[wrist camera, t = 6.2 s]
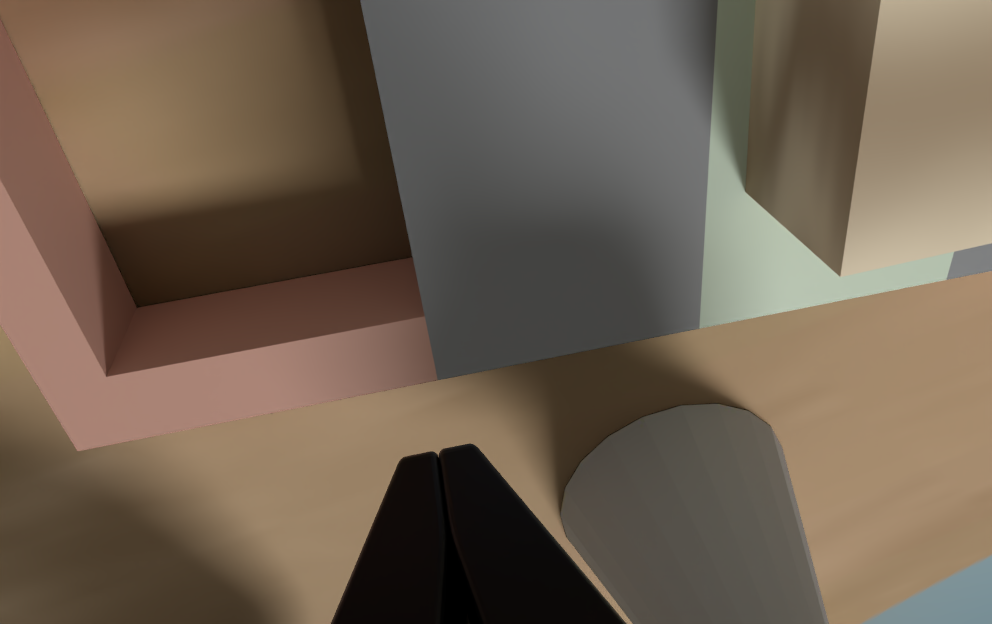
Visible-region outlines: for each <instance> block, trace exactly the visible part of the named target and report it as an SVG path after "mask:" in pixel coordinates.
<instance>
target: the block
mask: <svg viewBox="0 0 992 624" xmlns="http://www.w3.org/2000/svg"><path fill="white" fill-rule="evenodd" d="M745 192H746V193H747V194H748V195H749V196H750V197H751V198H752V199H754V200H755V201H756V202H757V203H758V204H759V205H760V206H761V207H762V208H764V209H765V210H766V211H767V212H768V213H769V214H770V215H771V216H773V217H774V218H775V219H776V220H777V221H778V222H779V223H780V224H781V225H783V226H784V227H785V228H786V229H787V230H788V231H789V232H790V233H792V234H793V235H794V236H795V237H796V238H797V239H798V240H799V241H801V242H802V243H803V244H804V245H805V246H806V247H807V248H808V249H809V250H811V251H812V252H813V253H814V254H815V255H816V256H817V257H818V258H820V259H821V260H822V261H823V262H824V263H825V264H826V265H827V266H828V267H830V268H831V269H832V270H833V271H834V272H835V273H836V274H837V275H839V276H840V277H843V276H848V275H852V274H857V273H861V272H866V271H870V270H875V269H879V268H884V267H888V266H892V265H897V264H901V263H906V262H910V261H915V260H919V259H924V258H928V257H933V256H937V255H942V254H946V253H950V252H955V251H959V250H964V249H968V248H973V247H977V246H982V245H986V244H991V243H992V0H756V2H755V20H754V39H753V57H752V76H751V94H750V113H749V131H748V150H747V169H746V187H745Z"/></svg>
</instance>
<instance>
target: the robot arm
mask: <svg viewBox="0 0 992 624" xmlns="http://www.w3.org/2000/svg"><path fill="white" fill-rule="evenodd" d="M331 624H626V623H625V621H624V620H623V619H622V618H621V617H620V616H619V614H618V613H617V612H616V611H615V610H614V608H613V607H612V606H611V605H610V604H609V603H608V601H607V600H606V599H605V598H604V597H603V595H602V594H601V593H600V592H599V591H598V589H597V588H596V587H595V586H594V585H593V584H592V582H591V581H590V580H589V579H588V578H587V576H586V575H585V574H584V573H583V572H582V571H581V569H580V568H579V567H578V566H577V565H576V563H575V562H574V561H573V560H572V559H571V557H570V556H569V555H568V554H567V553H566V552H565V550H564V549H563V548H562V547H561V546H560V544H559V543H558V542H557V541H556V540H555V538H554V537H553V536H552V535H551V534H550V533H549V531H548V530H547V529H546V528H545V527H544V525H543V524H542V523H541V522H540V521H539V520H538V518H537V517H536V516H535V515H534V514H533V512H532V511H531V510H530V509H529V508H528V506H527V505H526V504H525V503H524V502H523V501H522V499H521V498H520V497H519V496H518V495H517V493H516V492H515V491H514V490H513V489H512V488H511V486H510V485H509V484H508V483H507V482H506V480H505V479H504V478H503V477H502V476H501V474H500V473H499V472H498V471H497V470H496V469H495V467H494V466H493V465H492V464H491V463H490V461H489V460H488V459H487V458H486V457H485V455H484V454H483V453H482V452H481V451H480V450H479V448H478V447H476V446H475V445H473V444H465V445H460V446H455V447H450V448H445V449H442V450H441V451H440V453H439V457H438V455H437V454H436V453H435V452H426V453H421V454H416V455H411V456H406V457H403V458H402V459H401V460H400V461H399V463H398V465H397V467H396V470H395V472H394V475H393V477H392V479H391V482H390V484H389V486H388V489H387V491H386V494H385V496H384V498H383V501H382V503H381V505H380V508H379V510H378V513H377V515H376V517H375V520H374V522H373V524H372V527H371V529H370V532H369V534H368V536H367V539H366V541H365V544H364V546H363V548H362V551H361V553H360V555H359V558H358V560H357V563H356V565H355V567H354V570H353V572H352V574H351V577H350V579H349V582H348V584H347V586H346V589H345V591H344V594H343V596H342V598H341V601H340V603H339V605H338V608H337V610H336V613H335V615H334V617H333V620H332V622H331Z"/></svg>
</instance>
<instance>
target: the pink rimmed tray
mask: <svg viewBox="0 0 992 624" xmlns="http://www.w3.org/2000/svg"><path fill="white" fill-rule="evenodd" d="M360 2H361V7H362V12H363V16H364V21H365V26H366V31H367V36H368V41H369V46H370V51H371V56H372V61H373V65H374V70H375V75H376V80H377V85H378V90H379V95H380V100H381V105H382V110H383V114H384V119H385V124H386V129H387V134H388V139H389V144H390V149H391V154H392V159H393V163H394V168H395V173H396V178H397V183H398V188H399V193H400V198H401V203H402V208H403V212H404V217H405V222H406V227H407V232H408V237H409V242H410V247H411V252H412V257H411V258H406V259H400V260H395V261H389V262H384V263H379V264H373V265H368V266H362V267H357V268H351V269H346V270H340V271H335V272H329V273H324V274H319V275H313V276H308V277H302V278H297V279H291V280H286V281H280V282H275V283H269V284H264V285H259V286H253V287H248V288H242V289H237V290H231V291H226V292H220V293H215V294H210V295H204V296H199V297H193V298H188V299H182V300H177V301H171V302H166V303H160V304H155V305H150V306H144V307H139V308H137V307H136V305H135V303H134V301H133V298H132V296H131V294H130V292H129V290H128V288H127V286H126V284H125V281H124V279H123V277H122V275H121V273H120V271H119V269H118V267H117V265H116V262H115V260H114V258H113V256H112V254H111V252H110V250H109V248H108V245H107V243H106V241H105V239H104V237H103V235H102V233H101V231H100V229H99V226H98V224H97V222H96V220H95V218H94V216H93V214H92V212H91V210H90V207H89V205H88V203H87V201H86V199H85V197H84V195H83V193H82V190H81V188H80V186H79V184H78V182H77V180H76V178H75V176H74V174H73V171H72V169H71V167H70V165H69V163H68V161H67V159H66V157H65V155H64V152H63V150H62V148H61V146H60V144H59V142H58V140H57V138H56V135H55V133H54V131H53V129H52V127H51V125H50V123H49V121H48V119H47V116H46V114H45V112H44V110H43V108H42V106H41V104H40V102H39V99H38V97H37V95H36V93H35V91H34V89H33V87H32V85H31V83H30V80H29V78H28V76H27V74H26V72H25V70H24V68H23V66H22V64H21V61H20V59H19V57H18V55H17V53H16V51H15V49H14V47H13V44H12V42H11V40H10V38H9V36H8V34H7V32H6V30H5V28H4V25H3V23H2V21H1V19H0V325H1V327H2V328H3V330H4V332H5V333H6V335H7V337H8V338H9V340H10V341H11V343H12V345H13V346H14V348H15V350H16V351H17V353H18V355H19V356H20V358H21V359H22V361H23V363H24V364H25V366H26V368H27V369H28V371H29V373H30V374H31V376H32V377H33V379H34V381H35V382H36V384H37V386H38V387H39V389H40V391H41V392H42V394H43V396H44V397H45V399H46V400H47V402H48V404H49V405H50V407H51V409H52V410H53V412H54V414H55V415H56V417H57V418H58V420H59V422H60V423H61V425H62V427H63V428H64V430H65V432H66V433H67V435H68V436H69V438H70V440H71V441H72V443H73V445H74V446H75V448H76V450H77V451H82V450H87V449H92V448H97V447H102V446H107V445H112V444H117V443H122V442H127V441H133V440H138V439H143V438H148V437H153V436H158V435H163V434H168V433H173V432H178V431H183V430H188V429H193V428H198V427H203V426H208V425H214V424H219V423H224V422H229V421H234V420H239V419H244V418H249V417H254V416H259V415H264V414H269V413H274V412H279V411H284V410H289V409H295V408H300V407H305V406H310V405H315V404H320V403H325V402H330V401H335V400H340V399H345V398H350V397H355V396H360V395H365V394H370V393H376V392H381V391H386V390H391V389H396V388H401V387H406V386H411V385H416V384H421V383H426V382H431V381H436V380H441V379H446V378H451V377H457V376H462V375H467V374H472V373H477V372H482V371H487V370H492V369H497V368H502V367H507V366H512V365H517V364H522V363H527V362H533V361H538V360H543V359H548V358H553V357H558V356H563V355H568V354H573V353H578V352H583V351H588V350H593V349H598V348H603V347H608V346H614V345H619V344H624V343H629V342H634V341H639V340H644V339H649V338H654V337H659V336H664V335H669V334H674V333H679V332H684V331H689V330H695V329H700V328H705V327H710V326H715V325H720V324H725V323H730V322H735V321H740V320H745V319H750V318H755V317H760V316H765V315H770V314H776V313H781V312H786V311H791V310H796V309H801V308H806V307H811V306H816V305H821V304H826V303H831V302H836V301H841V300H846V299H851V298H857V297H862V296H867V295H872V294H877V293H882V292H887V291H892V290H897V289H902V288H907V287H912V286H917V285H922V284H927V283H932V282H938V281H943V280H948V279H953V278H958V277H963V276H968V275H973V274H978V273H983V272H988V271H992V243H991V244H986V245H982V246H977V247H973V248H968V249H964V250H959V251H955V252H950V253H946V254H942V255H937V256H933V257H928V258H924V259H919V260H915V261H910V262H906V263H901V264H897V265H892V266H888V267H884V268H879V269H875V270H870V271H866V272H861V273H857V274H852V275H848V276H843V277H840V276H839V275H837V274H836V273H835V272H834V271H833V270H832V269H831V268H830V267H828V266H827V265H826V264H825V263H824V262H823V261H822V260H821V259H820V258H818V257H817V256H816V255H815V254H814V253H813V252H812V251H811V250H809V249H808V248H807V247H806V246H805V245H804V244H803V243H802V242H801V241H799V240H798V239H797V238H796V237H795V236H794V235H793V234H792V233H790V232H789V231H788V230H787V229H786V228H785V227H784V226H783V225H781V224H780V223H779V222H778V221H777V220H776V219H775V218H774V217H773V216H771V215H770V214H769V213H768V212H767V211H766V210H765V209H764V208H762V207H761V206H760V205H759V204H758V203H757V202H756V201H755V200H754V199H752V198H751V197H750V196H749V195H748V194H747V193H746V192H745V187H746V169H747V150H748V131H749V113H750V94H751V76H752V57H753V39H754V20H755V2H756V0H360Z"/></svg>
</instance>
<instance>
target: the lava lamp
mask: <svg viewBox="0 0 992 624" xmlns="http://www.w3.org/2000/svg"><path fill="white" fill-rule="evenodd" d="M560 515H561V519H562V522H563V526H564V529H565V533H566V536H567V538H568V540H569V541H570V542H571V544H572V545H573V546H574V547H575V549H576V550H577V551H578V553H579V554H580V555H581V557H582V558H583V559H584V561H585V562H586V563H587V564H588V566H589V567H590V568H591V570H592V571H593V572H594V574H595V575H596V576H597V577H598V579H599V580H600V581H601V583H602V584H603V585H604V587H605V588H606V589H607V591H608V592H609V593H610V594H611V596H612V597H613V598H614V600H615V601H616V602H617V604H618V605H619V606H620V608H621V609H622V610H623V611H624V613H625V614H626V615H627V617H628V618H629V619H630V621H631V622H632V623H633V624H829V622H828V619H827V615H826V611H825V607H824V604H823V600H822V596H821V592H820V588H819V585H818V581H817V577H816V573H815V570H814V566H813V562H812V558H811V554H810V551H809V547H808V543H807V539H806V536H805V532H804V528H803V524H802V520H801V517H800V513H799V509H798V505H797V502H796V498H795V494H794V490H793V486H792V483H791V479H790V475H789V471H788V468H787V464H786V460H785V456H784V453H783V449H782V446H781V444H780V443H779V441H778V439H777V437H776V435H775V433H774V431H773V430H772V428H771V426H769V425H768V424H767V423H765V422H764V421H762V420H761V419H759V418H758V417H757V416H755V415H754V414H752V413H751V412H749V411H746V410H742V409H738V408H734V407H730V406H725V405H721V404H702V405H684V406H678V407H674V408H671V409H668V410H665V411H661V412H658V413H655V414H651V415H648V416H645V417H642V418H640V419H638V420H636V421H635V422H633V423H631V424H629V425H628V426H626V427H624V428H622V429H621V430H619V431H617V432H615V433H613V434H612V435H610V436H608V437H607V438H606V439H605V440H604V441H603V442H602V443H601V444H599V445H598V446H597V447H596V448H595V449H594V450H593V451H592V452H591V453H590V454H589V455H588V456H587V457H585V458H584V459H583V460H582V461H581V463H580V464H579V466H578V468H577V469H576V471H575V473H574V474H573V476H572V478H571V479H570V481H569V483H568V484H567V486H566V488H565V491H564V497H563V502H562V508H561V513H560Z"/></svg>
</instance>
